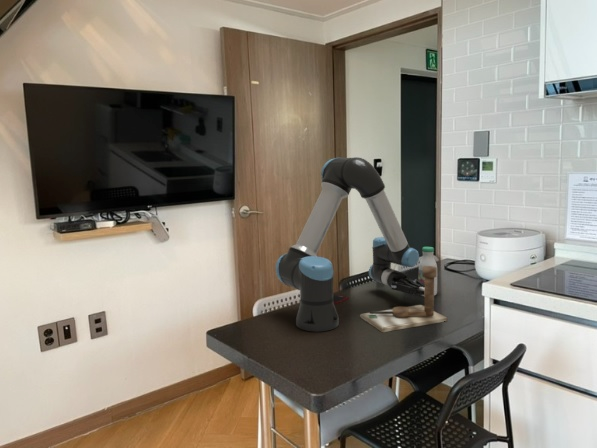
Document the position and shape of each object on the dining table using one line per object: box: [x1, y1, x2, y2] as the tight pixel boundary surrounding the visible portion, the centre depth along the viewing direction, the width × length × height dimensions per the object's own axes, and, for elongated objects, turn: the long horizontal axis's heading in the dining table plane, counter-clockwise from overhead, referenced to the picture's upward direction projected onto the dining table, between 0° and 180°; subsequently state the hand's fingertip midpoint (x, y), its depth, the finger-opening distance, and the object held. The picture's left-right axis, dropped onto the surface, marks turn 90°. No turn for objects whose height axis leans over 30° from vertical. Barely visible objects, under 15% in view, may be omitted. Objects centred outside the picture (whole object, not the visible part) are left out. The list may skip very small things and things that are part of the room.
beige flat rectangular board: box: [359, 304, 448, 333], centre depth 165 cm, size 26×16×2 cm, turn 110°
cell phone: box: [333, 293, 350, 306], centre depth 188 cm, size 8×15×1 cm, turn 137°
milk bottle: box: [417, 246, 438, 296], centre depth 193 cm, size 8×8×20 cm
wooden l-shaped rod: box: [369, 266, 438, 317], centre depth 164 cm, size 23×6×17 cm, turn 85°
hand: (431, 295), depth 165 cm, fingers closed
